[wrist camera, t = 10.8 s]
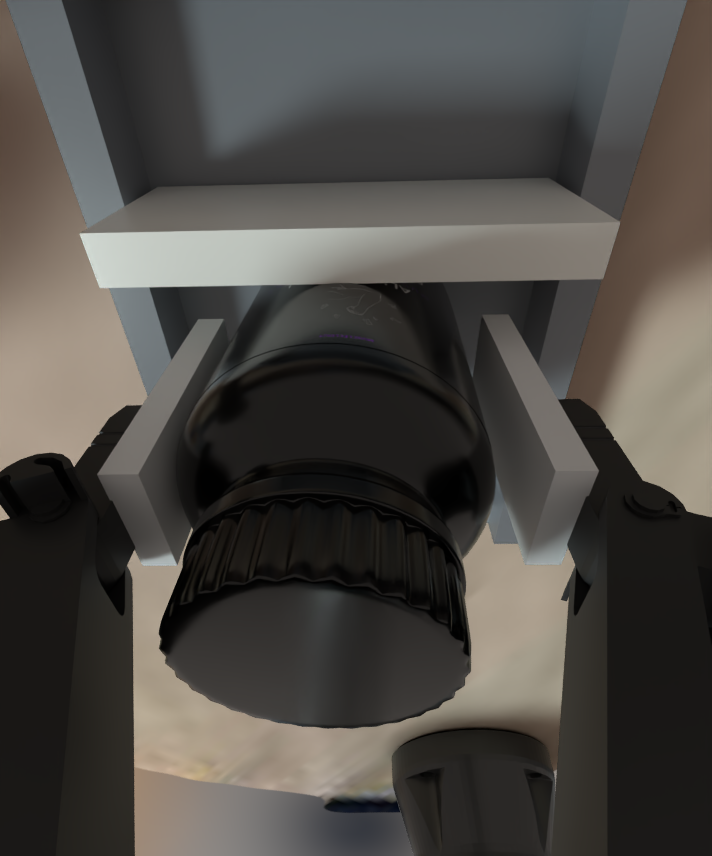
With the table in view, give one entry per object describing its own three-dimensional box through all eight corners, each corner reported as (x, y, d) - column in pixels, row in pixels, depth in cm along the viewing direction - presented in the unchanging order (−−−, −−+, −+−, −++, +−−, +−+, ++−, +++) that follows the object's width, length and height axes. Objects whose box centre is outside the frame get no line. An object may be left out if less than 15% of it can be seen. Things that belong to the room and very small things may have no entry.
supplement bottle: (384, 175, 14) (406, 423, 4) (482, 351, 17) (619, 710, 7) (215, 298, 16) (-17, 630, 7) (330, 430, 19) (287, 775, 10)
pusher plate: (539, 221, 14) (603, 279, 10) (169, 229, 14) (99, 288, 11) (548, 177, 13) (620, 222, 10) (157, 186, 14) (79, 233, 10)
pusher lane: (511, 494, 23) (540, 582, 19) (211, 496, 24) (181, 583, 20) (666, -107, 11) (839, -204, 7) (34, -82, 11) (-144, -161, 7)
